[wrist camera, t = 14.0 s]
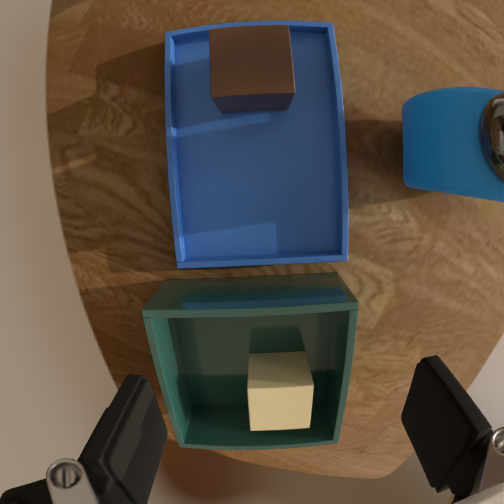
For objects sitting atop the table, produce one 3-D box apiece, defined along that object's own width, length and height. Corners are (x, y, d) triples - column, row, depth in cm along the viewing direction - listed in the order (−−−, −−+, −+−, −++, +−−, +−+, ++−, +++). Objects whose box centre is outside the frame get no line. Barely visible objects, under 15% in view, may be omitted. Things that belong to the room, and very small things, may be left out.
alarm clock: (374, 183, 22) (509, 205, 8) (374, 109, 21) (497, 51, 6) (488, 196, 22) (607, 225, 8) (488, 134, 21) (607, 131, 6)
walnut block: (218, 55, 20) (208, 28, 15) (283, 52, 20) (288, 24, 15) (221, 113, 21) (210, 97, 16) (287, 110, 21) (295, 93, 16)
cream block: (249, 353, 26) (247, 388, 21) (305, 350, 26) (314, 385, 21) (251, 394, 27) (250, 431, 22) (303, 392, 27) (309, 428, 22)
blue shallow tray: (170, 40, 20) (165, 32, 18) (328, 31, 19) (332, 22, 18) (182, 262, 24) (177, 269, 23) (342, 255, 24) (347, 261, 22)
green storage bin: (166, 279, 25) (141, 309, 19) (337, 271, 24) (359, 301, 18) (190, 405, 28) (179, 447, 22) (327, 401, 28) (338, 443, 22)
